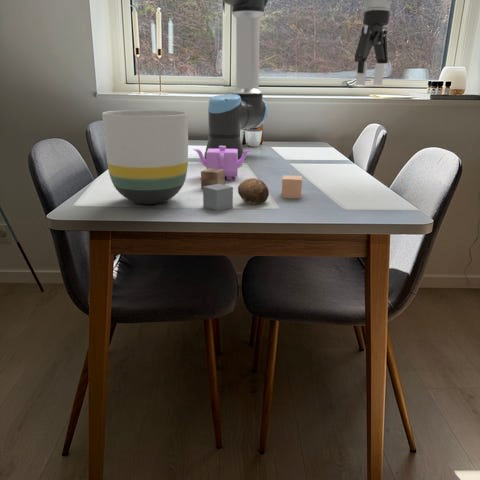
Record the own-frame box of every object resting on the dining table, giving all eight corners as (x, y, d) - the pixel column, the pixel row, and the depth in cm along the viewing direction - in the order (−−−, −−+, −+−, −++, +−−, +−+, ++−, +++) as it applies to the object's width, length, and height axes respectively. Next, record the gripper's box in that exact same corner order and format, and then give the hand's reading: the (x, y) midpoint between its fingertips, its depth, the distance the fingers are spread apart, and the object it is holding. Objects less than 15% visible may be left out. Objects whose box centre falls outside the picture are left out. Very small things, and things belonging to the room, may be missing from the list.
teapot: (250, 173, 150) (251, 143, 147) (251, 182, 138) (252, 149, 134) (195, 172, 150) (195, 142, 147) (191, 181, 138) (190, 148, 134)
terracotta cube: (281, 197, 120) (282, 179, 119) (282, 193, 125) (282, 175, 123) (300, 198, 120) (301, 179, 118) (300, 194, 124) (301, 175, 123)
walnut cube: (201, 188, 129) (200, 171, 127) (208, 185, 133) (208, 168, 131) (217, 190, 127) (217, 172, 125) (224, 187, 131) (224, 169, 130)
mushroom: (235, 184, 119) (244, 168, 115) (263, 196, 121) (273, 179, 116) (231, 206, 114) (240, 189, 109) (260, 217, 115) (271, 201, 111)
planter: (196, 209, 108) (194, 115, 101) (110, 215, 103) (102, 116, 96) (182, 190, 126) (180, 109, 119) (108, 194, 121) (101, 110, 113)
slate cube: (203, 206, 111) (203, 186, 109) (219, 203, 114) (219, 183, 113) (216, 211, 108) (216, 190, 106) (232, 207, 111) (232, 187, 109)
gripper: (372, 4, 128) (364, 85, 135) (403, 14, 146) (394, 84, 154) (347, 6, 132) (340, 84, 139) (380, 16, 151) (373, 84, 158)
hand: (369, 84), depth 146 cm, fingers open, 13 cm apart
